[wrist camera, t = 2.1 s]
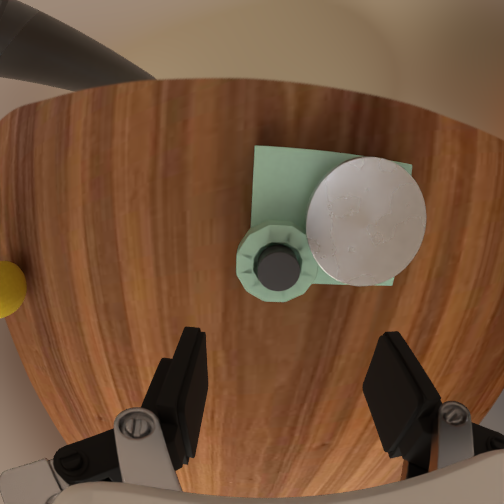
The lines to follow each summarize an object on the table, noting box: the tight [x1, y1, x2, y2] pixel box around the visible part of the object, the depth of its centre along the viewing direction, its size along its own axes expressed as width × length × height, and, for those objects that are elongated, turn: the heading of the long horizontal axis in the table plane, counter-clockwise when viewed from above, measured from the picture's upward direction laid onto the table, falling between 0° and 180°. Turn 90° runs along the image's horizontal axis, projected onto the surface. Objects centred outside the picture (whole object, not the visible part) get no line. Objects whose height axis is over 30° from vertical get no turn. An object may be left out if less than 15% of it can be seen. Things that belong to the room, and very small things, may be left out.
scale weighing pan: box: [304, 156, 426, 286], centre depth 18 cm, size 9×9×1 cm
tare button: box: [257, 245, 300, 291], centre depth 20 cm, size 3×3×2 cm
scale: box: [236, 145, 412, 302], centre depth 21 cm, size 13×11×4 cm
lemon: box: [0, 261, 27, 318], centre depth 21 cm, size 6×6×8 cm
